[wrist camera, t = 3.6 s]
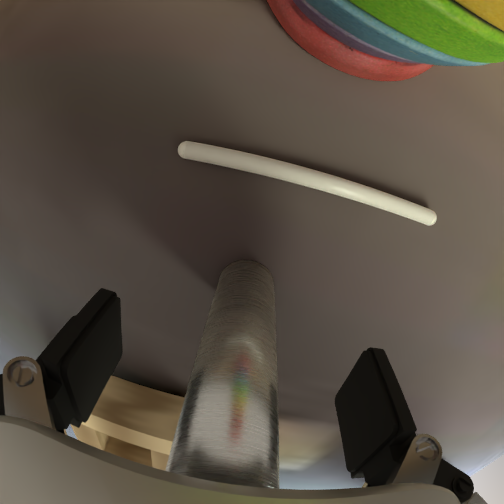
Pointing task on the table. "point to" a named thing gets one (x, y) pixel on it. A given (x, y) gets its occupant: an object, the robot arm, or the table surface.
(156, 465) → the square wooden frame
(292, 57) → the table surface
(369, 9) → the stacking bear
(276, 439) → the frosted glass tube
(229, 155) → the lace cord
